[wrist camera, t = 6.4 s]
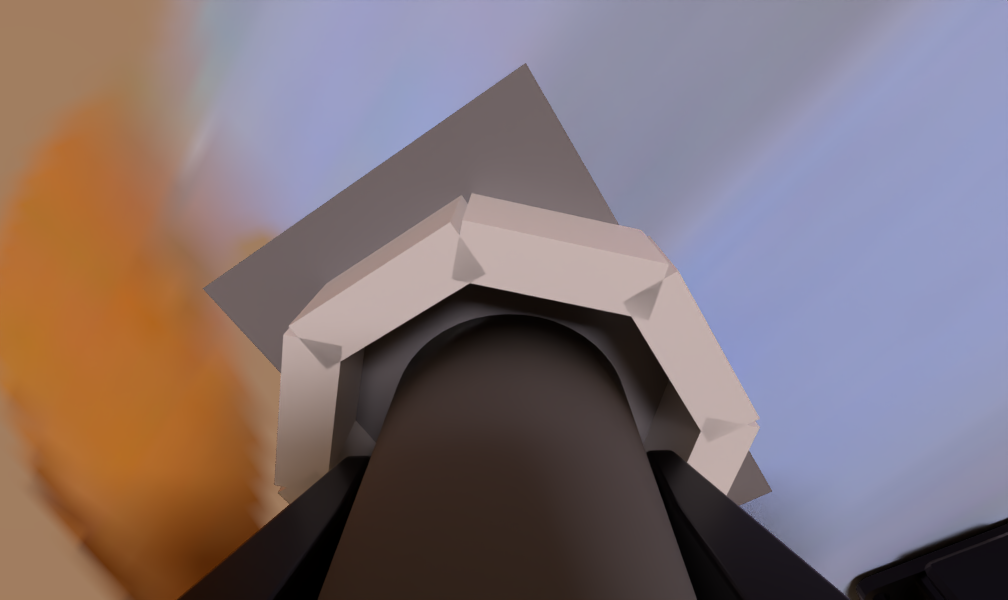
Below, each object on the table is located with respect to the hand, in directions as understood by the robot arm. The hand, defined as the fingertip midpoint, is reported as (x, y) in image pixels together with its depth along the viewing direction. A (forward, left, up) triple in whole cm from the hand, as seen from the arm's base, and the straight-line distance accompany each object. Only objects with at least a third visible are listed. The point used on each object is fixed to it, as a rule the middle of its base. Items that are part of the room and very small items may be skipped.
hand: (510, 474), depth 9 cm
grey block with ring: (0, 0, -5) cm, 5 cm away
